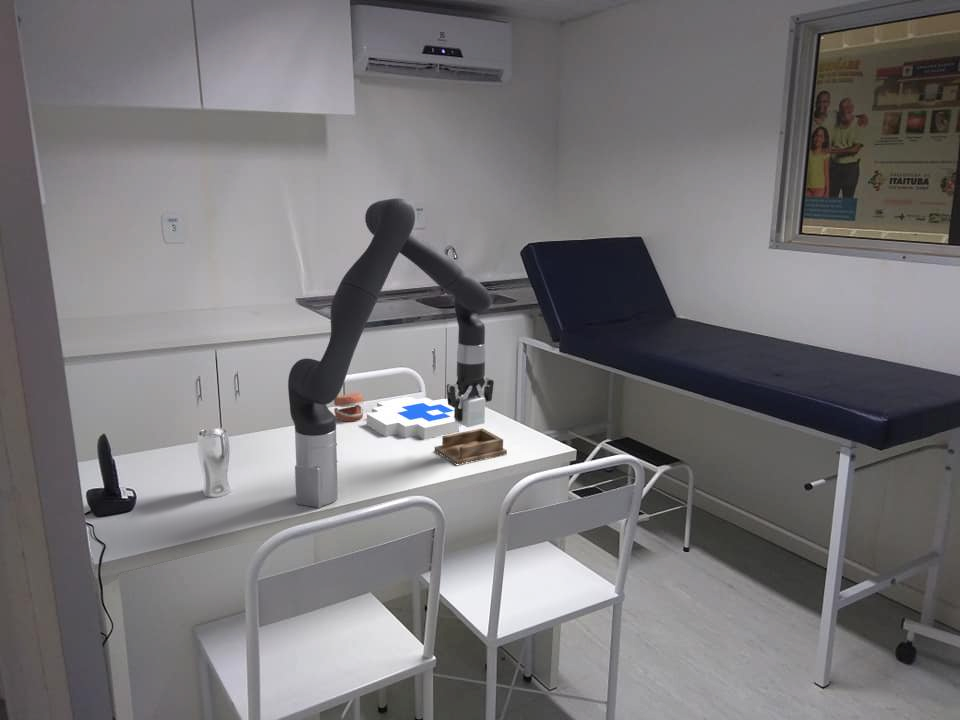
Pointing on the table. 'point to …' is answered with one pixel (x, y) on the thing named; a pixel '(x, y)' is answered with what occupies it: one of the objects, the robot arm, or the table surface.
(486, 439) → the U-rest
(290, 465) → the table surface
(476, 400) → the product box
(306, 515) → the table surface
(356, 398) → the dentures
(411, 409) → the pixel art tile
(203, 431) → the beer glass
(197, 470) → the table surface
